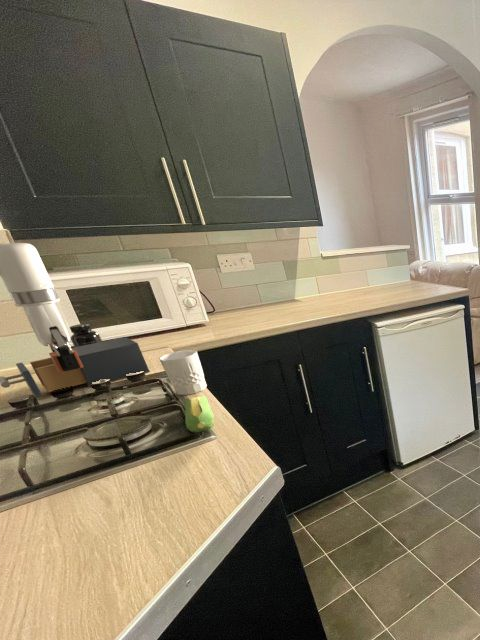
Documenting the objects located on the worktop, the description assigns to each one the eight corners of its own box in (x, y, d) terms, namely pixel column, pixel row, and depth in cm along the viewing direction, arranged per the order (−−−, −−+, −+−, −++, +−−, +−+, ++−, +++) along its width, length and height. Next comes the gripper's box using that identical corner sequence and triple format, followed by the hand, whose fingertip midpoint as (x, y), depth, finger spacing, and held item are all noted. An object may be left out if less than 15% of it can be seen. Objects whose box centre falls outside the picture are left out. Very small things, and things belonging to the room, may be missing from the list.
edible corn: (190, 440, 87) (182, 421, 85) (185, 408, 101) (178, 391, 100) (219, 431, 90) (212, 413, 88) (210, 401, 104) (204, 385, 103)
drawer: (12, 404, 106) (-4, 377, 103) (6, 394, 112) (-9, 368, 109) (99, 381, 118) (87, 357, 115) (89, 373, 125) (78, 350, 122)
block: (60, 372, 106) (52, 356, 104) (56, 369, 108) (48, 353, 106) (83, 367, 109) (76, 351, 107) (79, 363, 111) (72, 348, 109)
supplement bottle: (114, 355, 143) (98, 321, 138) (103, 361, 137) (86, 326, 132) (89, 358, 141) (72, 323, 136) (77, 365, 135) (59, 329, 130)
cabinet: (90, 387, 117) (75, 356, 113) (79, 378, 124) (65, 349, 120) (149, 371, 127) (137, 342, 123) (137, 363, 134) (125, 336, 130)
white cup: (188, 384, 116) (175, 350, 111) (216, 383, 115) (203, 349, 111) (166, 396, 108) (151, 360, 104) (195, 396, 108) (181, 359, 104)
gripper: (7, 296, 103) (43, 365, 110) (18, 304, 94) (56, 379, 101) (50, 291, 108) (81, 357, 116) (64, 298, 99) (97, 369, 106)
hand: (69, 366), depth 108 cm, fingers closed on block, 4 cm apart
